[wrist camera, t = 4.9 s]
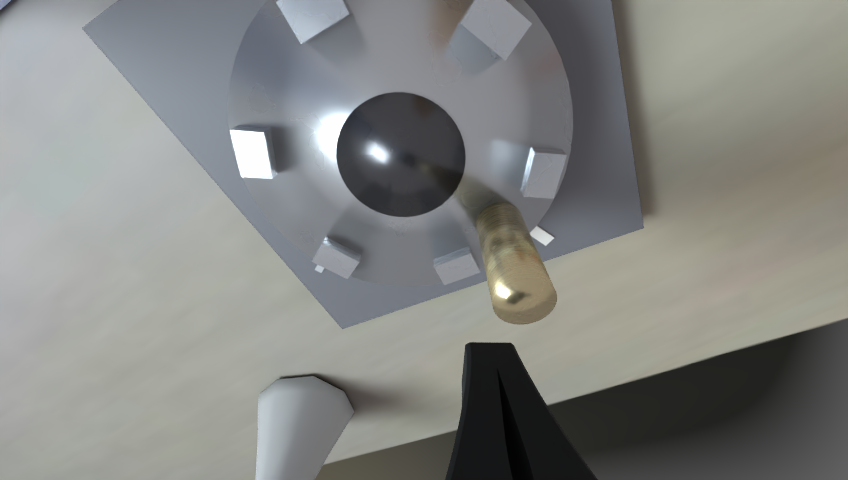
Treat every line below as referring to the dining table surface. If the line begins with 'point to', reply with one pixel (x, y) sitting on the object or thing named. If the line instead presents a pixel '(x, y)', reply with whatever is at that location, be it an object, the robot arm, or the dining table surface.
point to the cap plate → (211, 147)
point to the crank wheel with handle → (406, 139)
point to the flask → (298, 427)
